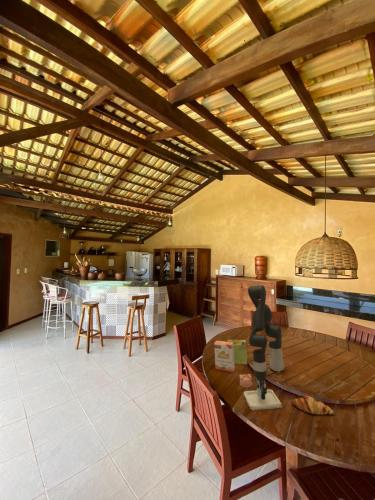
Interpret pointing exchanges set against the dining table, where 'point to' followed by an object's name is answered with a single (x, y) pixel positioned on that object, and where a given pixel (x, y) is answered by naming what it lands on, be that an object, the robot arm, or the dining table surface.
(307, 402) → the croissant
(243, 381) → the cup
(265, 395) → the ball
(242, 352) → the protein box
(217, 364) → the cracker box
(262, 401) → the tray
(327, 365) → the dining table surface
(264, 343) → the robot arm
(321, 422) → the dining table surface
